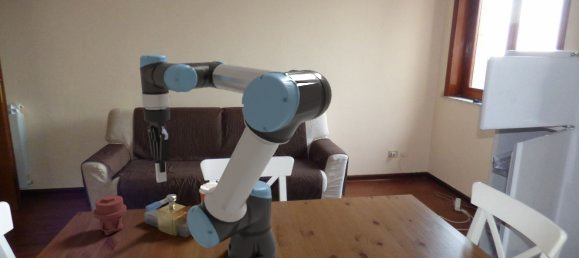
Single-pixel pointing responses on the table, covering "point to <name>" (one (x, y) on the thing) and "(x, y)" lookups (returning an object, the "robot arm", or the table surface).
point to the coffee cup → (206, 188)
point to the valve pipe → (169, 219)
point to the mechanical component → (110, 213)
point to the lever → (161, 202)
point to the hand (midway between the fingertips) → (161, 180)
